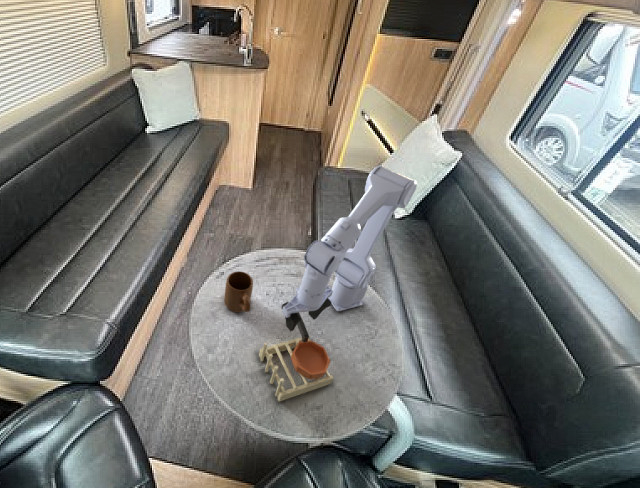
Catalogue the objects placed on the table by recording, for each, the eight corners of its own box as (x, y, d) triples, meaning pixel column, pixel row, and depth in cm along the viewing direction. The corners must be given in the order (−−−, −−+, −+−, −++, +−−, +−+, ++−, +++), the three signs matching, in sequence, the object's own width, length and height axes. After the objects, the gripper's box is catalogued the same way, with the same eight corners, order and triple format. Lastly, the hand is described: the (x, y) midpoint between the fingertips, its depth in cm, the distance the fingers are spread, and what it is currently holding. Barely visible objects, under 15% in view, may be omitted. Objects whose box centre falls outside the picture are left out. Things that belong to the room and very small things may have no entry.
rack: (306, 341, 87) (312, 325, 83) (330, 383, 78) (338, 368, 74) (257, 355, 82) (261, 339, 78) (278, 402, 73) (283, 386, 69)
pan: (333, 375, 76) (338, 365, 74) (299, 381, 74) (303, 371, 72) (307, 320, 88) (311, 309, 86) (278, 324, 86) (281, 313, 84)
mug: (258, 323, 90) (263, 301, 84) (232, 328, 87) (235, 306, 82) (244, 290, 99) (248, 269, 93) (221, 295, 97) (223, 272, 91)
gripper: (324, 265, 80) (311, 301, 88) (278, 284, 74) (269, 321, 82) (344, 284, 76) (329, 320, 84) (298, 307, 69) (286, 343, 77)
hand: (300, 322), depth 82 cm, fingers open, 7 cm apart
